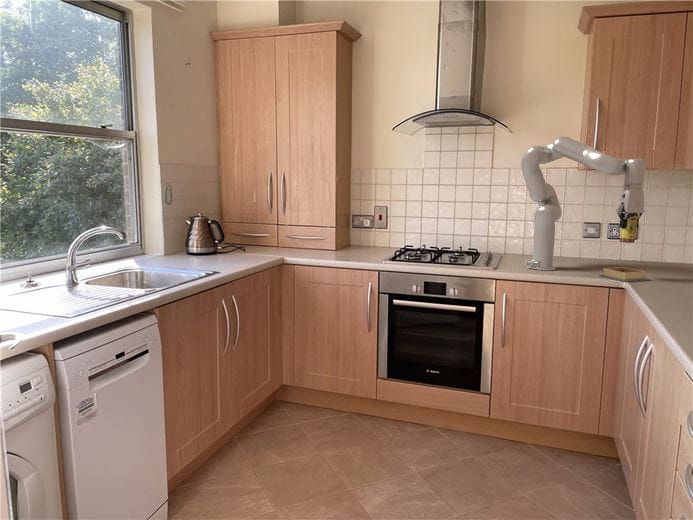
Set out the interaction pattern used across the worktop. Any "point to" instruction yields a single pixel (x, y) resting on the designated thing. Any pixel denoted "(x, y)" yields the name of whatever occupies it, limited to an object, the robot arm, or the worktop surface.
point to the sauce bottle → (629, 229)
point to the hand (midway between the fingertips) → (628, 227)
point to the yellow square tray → (624, 274)
